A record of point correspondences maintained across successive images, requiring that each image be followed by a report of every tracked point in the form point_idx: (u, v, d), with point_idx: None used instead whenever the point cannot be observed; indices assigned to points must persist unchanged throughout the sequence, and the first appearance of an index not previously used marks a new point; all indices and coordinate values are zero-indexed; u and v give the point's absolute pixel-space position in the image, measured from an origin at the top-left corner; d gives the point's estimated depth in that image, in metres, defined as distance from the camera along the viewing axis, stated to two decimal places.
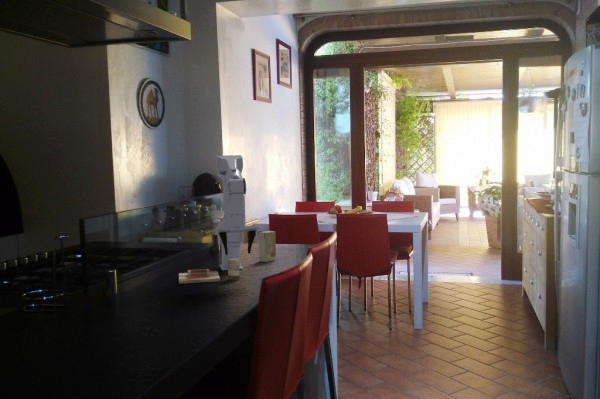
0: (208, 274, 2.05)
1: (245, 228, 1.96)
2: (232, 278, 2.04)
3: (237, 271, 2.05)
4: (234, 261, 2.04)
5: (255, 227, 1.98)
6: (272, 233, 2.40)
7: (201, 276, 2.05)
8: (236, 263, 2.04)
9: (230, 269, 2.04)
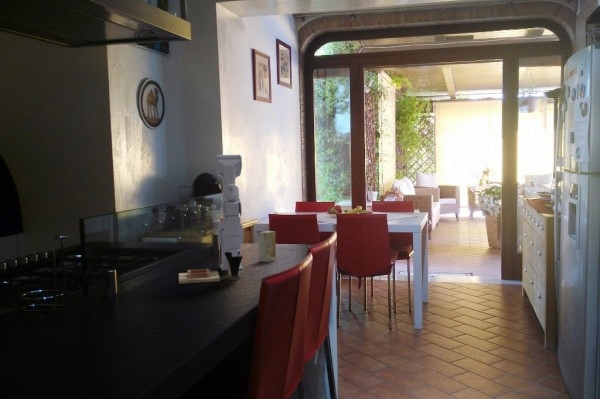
0: (208, 274, 2.05)
1: (227, 250, 2.02)
2: (232, 278, 2.04)
3: None
4: None
5: (231, 251, 1.99)
6: (272, 233, 2.40)
7: (201, 276, 2.05)
8: None
9: None
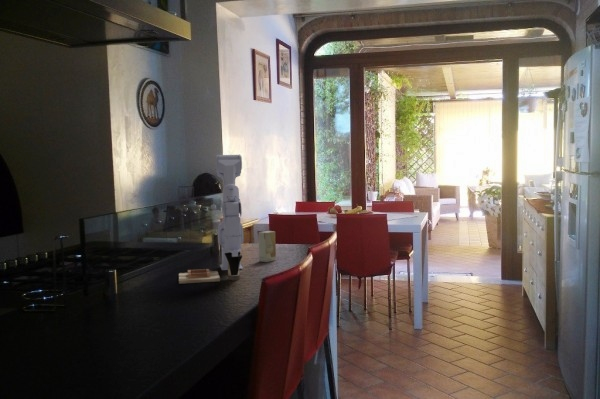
0: (208, 274, 2.05)
1: (227, 250, 2.02)
2: (232, 278, 2.04)
3: None
4: None
5: (231, 251, 1.99)
6: (272, 233, 2.40)
7: (201, 276, 2.05)
8: None
9: None
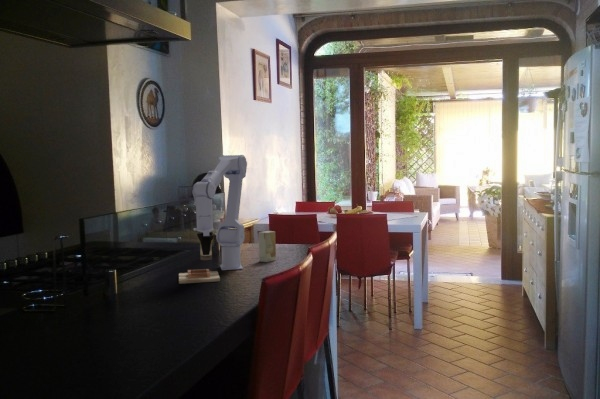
0: (208, 274, 2.05)
1: (198, 230, 2.04)
2: (204, 258, 2.05)
3: None
4: None
5: (202, 231, 2.00)
6: (272, 233, 2.40)
7: (201, 276, 2.05)
8: None
9: None
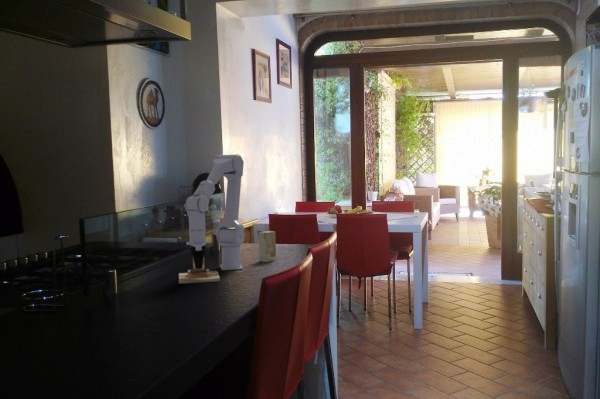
0: (208, 274, 2.05)
1: (191, 244, 2.05)
2: (197, 272, 2.06)
3: None
4: None
5: (195, 245, 2.01)
6: (272, 233, 2.40)
7: (201, 276, 2.05)
8: None
9: None
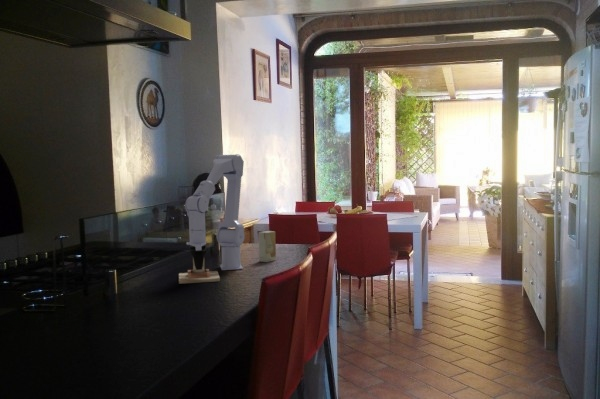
0: (208, 274, 2.05)
1: (191, 244, 2.05)
2: None
3: (202, 268, 2.07)
4: None
5: (195, 245, 2.01)
6: (272, 233, 2.40)
7: (201, 276, 2.05)
8: None
9: (194, 265, 2.06)
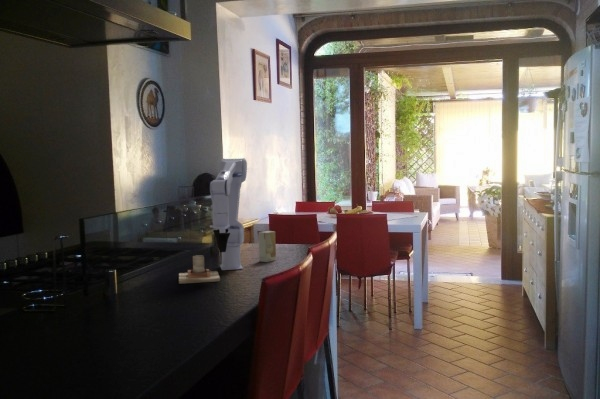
0: (208, 274, 2.05)
1: (215, 227, 2.08)
2: None
3: (202, 267, 2.07)
4: (198, 258, 2.06)
5: (219, 228, 2.05)
6: (272, 233, 2.40)
7: (201, 276, 2.05)
8: (200, 260, 2.06)
9: (194, 265, 2.06)
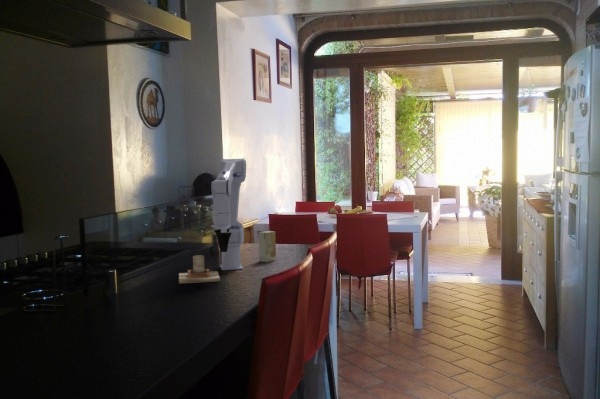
0: (208, 274, 2.05)
1: (216, 227, 2.08)
2: None
3: (202, 268, 2.07)
4: (199, 258, 2.06)
5: (220, 228, 2.05)
6: (272, 233, 2.40)
7: (201, 276, 2.05)
8: (201, 260, 2.06)
9: (194, 265, 2.06)
